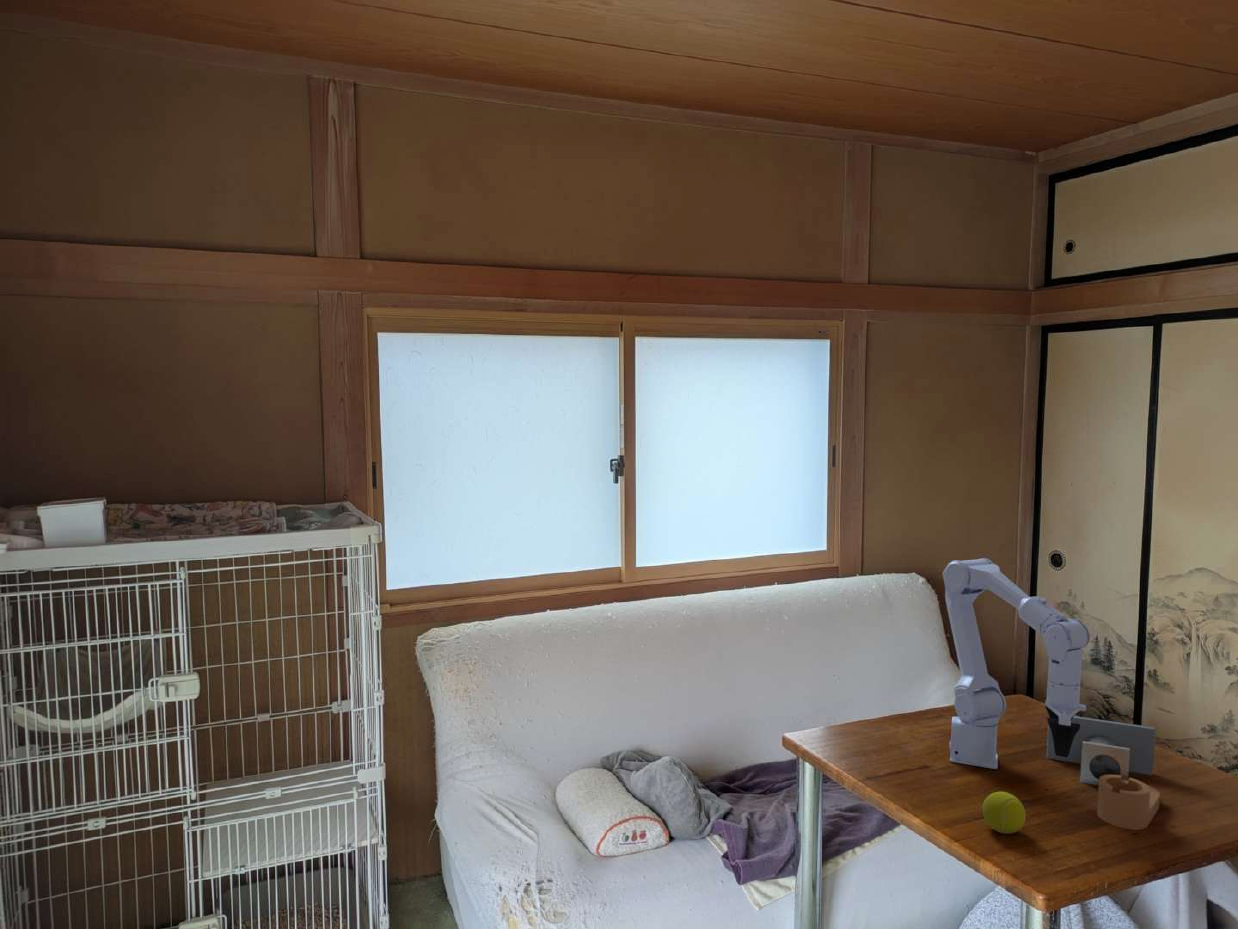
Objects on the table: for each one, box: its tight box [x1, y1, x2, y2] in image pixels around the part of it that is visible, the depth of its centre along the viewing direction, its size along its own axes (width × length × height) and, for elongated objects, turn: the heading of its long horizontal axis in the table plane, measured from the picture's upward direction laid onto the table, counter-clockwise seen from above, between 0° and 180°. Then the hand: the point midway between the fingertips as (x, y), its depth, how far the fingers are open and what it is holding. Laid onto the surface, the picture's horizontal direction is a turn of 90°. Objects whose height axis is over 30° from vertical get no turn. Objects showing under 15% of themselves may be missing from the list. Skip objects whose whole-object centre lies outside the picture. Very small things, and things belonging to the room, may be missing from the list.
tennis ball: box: [981, 791, 1027, 835], centre depth 155 cm, size 7×7×7 cm
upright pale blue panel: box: [1046, 715, 1156, 786], centre depth 179 cm, size 20×12×10 cm, turn 66°
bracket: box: [1096, 775, 1161, 831], centre depth 163 cm, size 18×8×7 cm, turn 137°
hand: (1060, 748), depth 167 cm, fingers open, 7 cm apart
